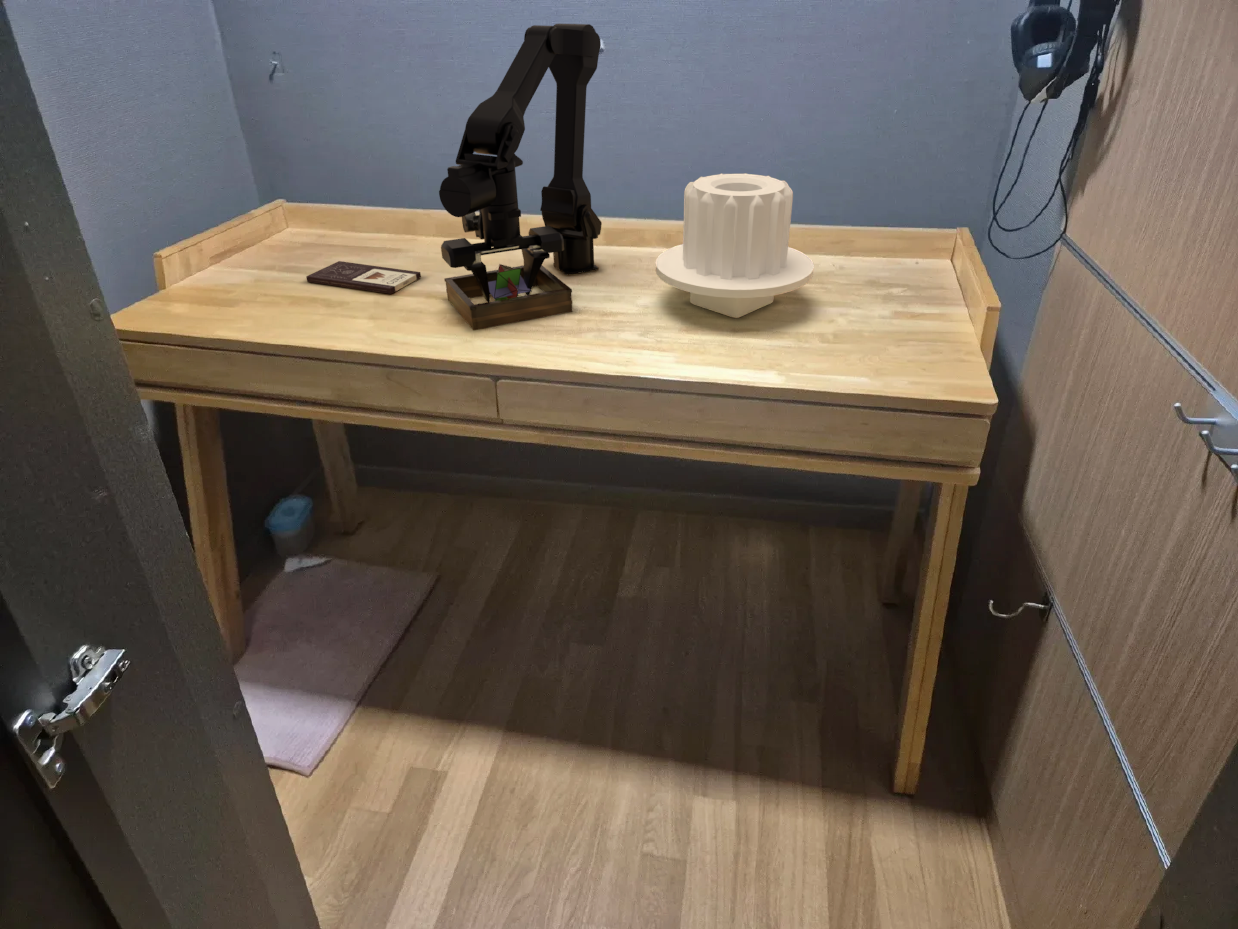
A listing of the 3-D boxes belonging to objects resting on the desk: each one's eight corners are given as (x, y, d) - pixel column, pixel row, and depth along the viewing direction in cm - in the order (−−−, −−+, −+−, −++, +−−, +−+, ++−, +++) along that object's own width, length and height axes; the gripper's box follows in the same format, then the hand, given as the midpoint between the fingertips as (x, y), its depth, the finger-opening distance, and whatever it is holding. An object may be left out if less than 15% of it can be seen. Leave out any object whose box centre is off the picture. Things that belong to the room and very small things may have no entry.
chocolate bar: (339, 260, 151) (420, 272, 145) (340, 265, 152) (421, 277, 146) (306, 276, 144) (389, 288, 138) (307, 281, 145) (390, 293, 139)
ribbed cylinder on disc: (720, 267, 148) (726, 158, 138) (839, 301, 133) (855, 182, 123) (624, 304, 134) (622, 185, 124) (744, 347, 118) (754, 216, 108)
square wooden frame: (540, 283, 143) (539, 262, 141) (573, 311, 131) (572, 289, 129) (447, 299, 137) (444, 278, 135) (472, 330, 125) (470, 307, 123)
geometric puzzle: (541, 298, 130) (525, 251, 130) (502, 307, 127) (486, 259, 127) (527, 312, 137) (512, 268, 137) (489, 321, 134) (474, 275, 134)
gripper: (537, 182, 134) (543, 274, 143) (426, 196, 128) (439, 291, 136) (562, 197, 126) (567, 294, 134) (445, 213, 119) (457, 314, 127)
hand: (507, 297), depth 133 cm, fingers closed on geometric puzzle, 6 cm apart
